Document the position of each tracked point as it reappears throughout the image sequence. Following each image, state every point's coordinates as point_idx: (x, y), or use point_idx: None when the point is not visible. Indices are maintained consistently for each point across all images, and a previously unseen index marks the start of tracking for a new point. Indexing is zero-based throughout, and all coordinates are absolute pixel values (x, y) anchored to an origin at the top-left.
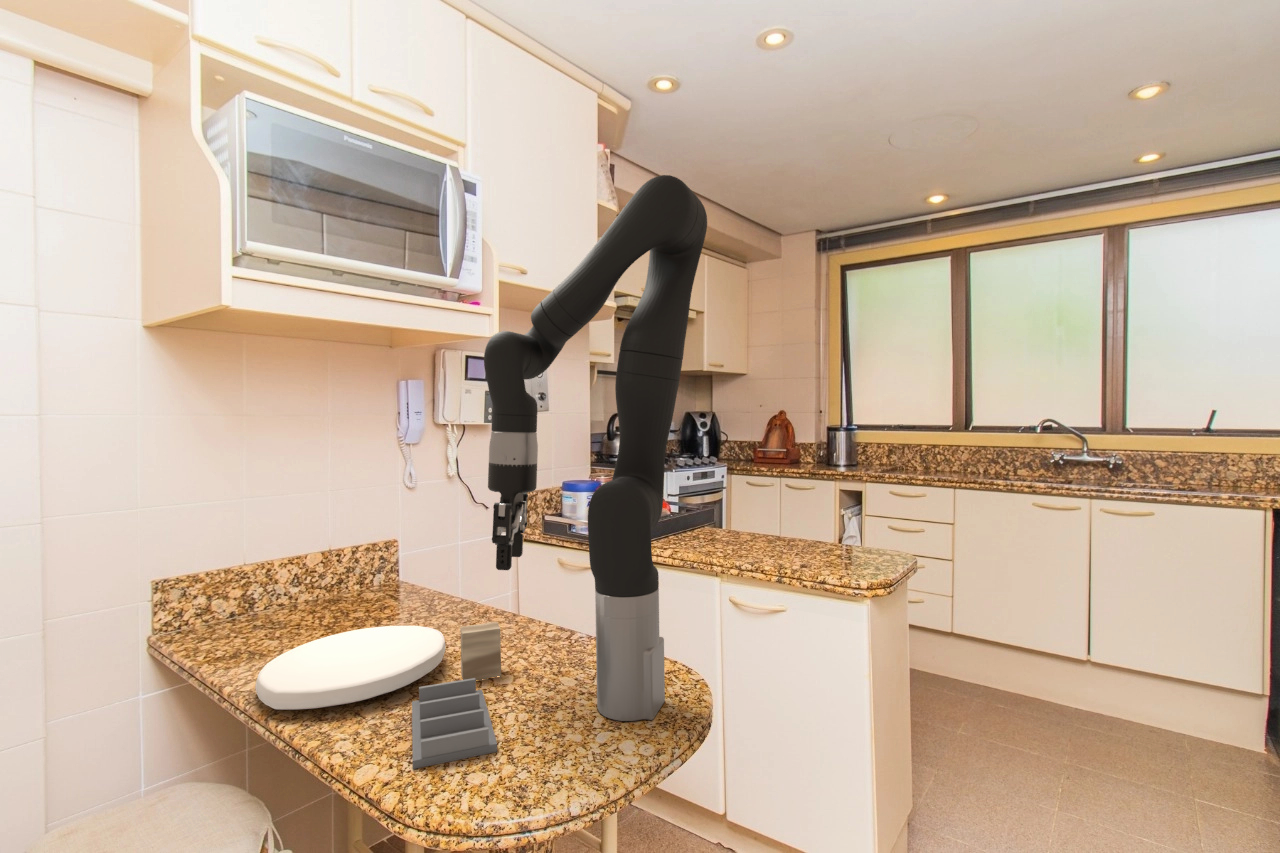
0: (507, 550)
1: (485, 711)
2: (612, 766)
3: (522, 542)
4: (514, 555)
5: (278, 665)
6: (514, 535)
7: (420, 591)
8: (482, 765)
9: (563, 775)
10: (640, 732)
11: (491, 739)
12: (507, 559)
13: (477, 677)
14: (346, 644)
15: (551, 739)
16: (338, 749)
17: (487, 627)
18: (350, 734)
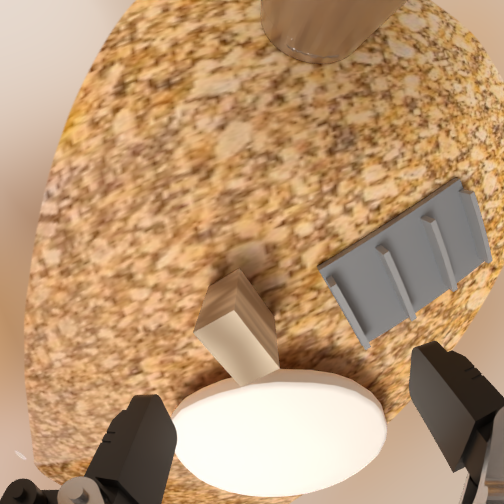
0: (500, 396)
1: (389, 230)
2: (450, 40)
3: (122, 441)
4: (168, 419)
5: (326, 484)
6: (142, 502)
7: (37, 449)
8: (474, 185)
9: (475, 90)
10: None
11: (453, 190)
12: (470, 370)
13: (262, 302)
14: (285, 472)
15: (422, 114)
16: None
17: (234, 338)
18: None
